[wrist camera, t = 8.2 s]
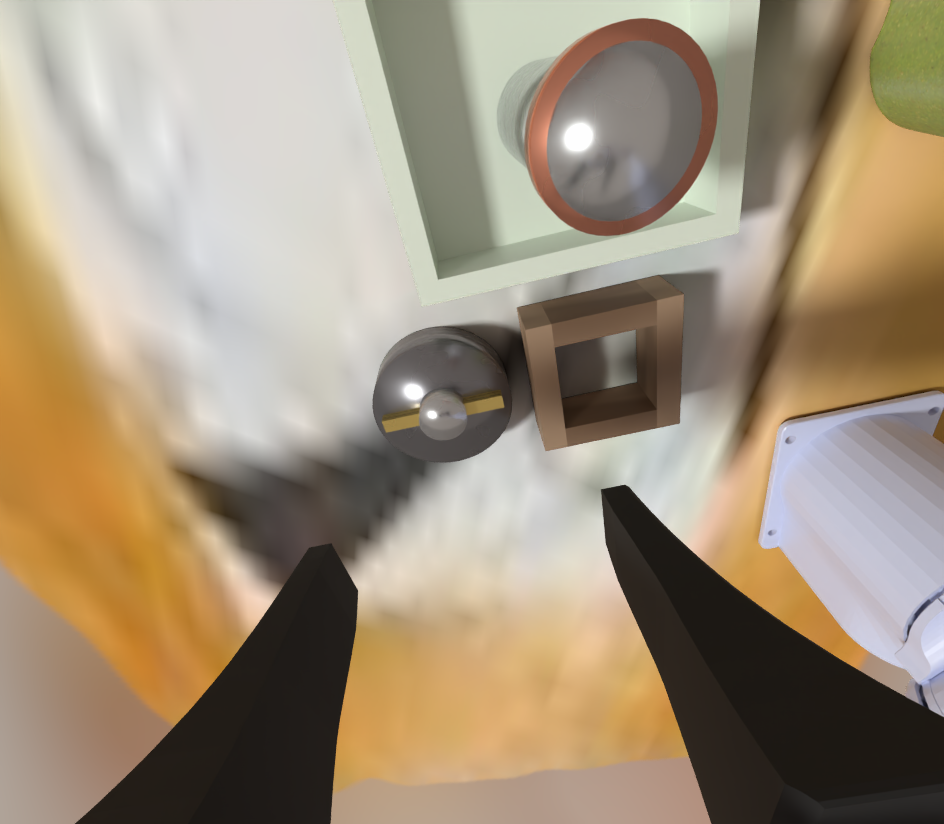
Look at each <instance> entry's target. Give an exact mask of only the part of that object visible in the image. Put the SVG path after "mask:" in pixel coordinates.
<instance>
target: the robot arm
mask: <svg viewBox="0 0 944 824" xmlns="http://www.w3.org/2000/svg"><path fill="white" fill-rule="evenodd" d="M943 409H944V393H942V392H940V391H930V392H925V393H921V394H916V395H911V396H906V397H901V398H896V399H891V400H886V401H881V402H876V403H872V404H867V405H862V406H857V407H852V408H847V409H842V410H837V411H832V412H827V413H823V414H818V415H813V416H808V417H803V418H798V419H793V420H789V421H786V422H784V423H782V424H781V425H780V427H779V429H778V432H777V438H776V444H775V449H774V455H773V461H772V466H771V472H770V478H769V483H768V489H767V495H766V500H765V506H764V512H763V517H762V523H761V529H760V534H759V540H758V542H759V544H760V545H761V547H762V548H765V549H770V548H775V547H780V549H781V550H782V551H783V553H784V554H785V555H786V556H787V558H788V559H789V560H790V562H791V563H792V564H793V565H794V567H795V568H796V569H797V571H798V572H799V573H800V574H801V576H802V577H803V578H804V580H805V581H806V582H807V583H808V585H809V586H810V587H811V589H812V590H813V591H814V593H815V594H816V595H817V596H818V598H819V599H820V600H821V602H822V603H823V604H824V605H825V607H826V608H827V609H828V611H829V612H830V613H831V614H832V616H833V617H834V618H835V620H836V621H837V622H838V623H839V625H840V626H841V627H842V628H843V629H844V631H845V632H846V633H847V634H848V635H849V636H850V637H851V638H852V639H853V640H854V641H856V642H857V643H858V644H859V645H861V646H862V647H863V648H865V649H866V650H868V651H869V652H871V653H872V654H874V655H875V656H877V657H879V658H881V659H883V660H884V661H886V662H888V663H890V664H893V665H895V666H897V667H900V668H903V669H906V670H907V671H908V672H909V674H910V675H911V676H912V677H913V678H912V679H911V680H910V681H909V683H908V684H907V686H906V693H905V694H906V697H905V696H903V695H901V694H900V693H898V692H896V691H894V690H892V689H891V688H889V687H887V686H885V685H883V684H882V683H880V682H878V681H876V680H875V679H873V678H871V677H869V676H868V675H866V674H864V673H863V672H861V671H859V670H858V669H856V668H854V667H852V666H851V665H849V664H847V663H846V662H844V661H842V660H840V659H839V658H837V657H836V656H834V655H833V654H831V653H829V652H828V651H826V650H825V649H823V648H822V647H820V646H818V645H817V644H815V643H814V642H812V641H811V640H809V639H807V638H806V637H804V636H803V635H801V634H800V633H798V632H797V631H795V630H793V629H792V628H790V627H789V626H787V625H786V624H784V623H783V622H781V621H780V620H779V619H777V618H776V617H774V616H773V615H772V614H770V613H769V612H767V611H766V610H764V609H763V608H762V607H760V606H759V605H758V604H756V603H755V602H754V601H752V600H751V599H749V598H748V597H747V596H745V595H744V594H743V593H741V592H740V591H739V590H738V589H736V588H735V587H734V586H732V585H731V584H730V583H729V582H727V581H726V580H725V579H724V578H723V577H721V576H720V575H719V574H718V573H716V572H715V571H714V570H713V569H712V568H711V567H709V566H708V565H707V564H706V563H705V562H703V561H702V560H701V559H700V558H699V557H698V556H697V555H696V554H694V553H693V552H692V551H691V550H690V549H689V548H688V547H687V546H686V545H685V544H684V543H682V542H681V541H680V540H679V539H678V538H677V537H676V536H675V535H674V534H673V533H672V532H671V531H670V530H669V529H668V528H667V527H666V526H665V525H664V524H663V523H662V522H661V521H660V520H659V519H658V518H657V517H656V516H655V515H654V514H653V513H652V512H651V511H650V510H649V509H648V508H647V507H646V506H645V505H644V503H643V502H642V501H641V500H640V499H639V498H638V497H637V496H636V495H635V493H634V492H633V491H632V490H631V489H630V487H628V486H626V485H621V486H616V487H611V488H606V489H601V494H602V506H603V517H604V528H605V539H606V545H607V548H608V551H609V554H610V558H611V561H612V564H613V567H614V570H615V573H616V576H617V579H618V581H619V584H620V586H621V588H622V590H623V593H624V595H625V597H626V599H627V602H628V604H629V606H630V608H631V611H632V613H633V615H634V617H635V619H636V622H637V624H638V626H639V628H640V630H641V633H642V635H643V637H644V639H645V642H646V644H647V646H648V648H649V650H650V653H651V655H652V657H653V659H654V661H655V664H656V666H657V668H658V671H659V673H660V676H661V678H662V681H663V683H664V686H665V689H666V691H667V694H668V697H669V700H670V703H671V706H672V708H673V711H674V714H675V717H676V720H677V723H678V725H679V728H680V731H681V734H682V737H683V740H684V743H685V746H686V749H687V752H688V755H689V758H690V761H691V763H692V766H693V769H694V772H695V775H696V778H697V781H698V784H699V787H700V790H701V793H702V796H703V799H704V802H705V806H706V808H707V812H708V815H709V818H710V821H711V823H712V824H944V444H943V443H942V442H940V441H939V440H937V439H936V438H934V437H933V433H934V431H935V428H936V426H937V423H938V421H939V418H940V416H941V413H942V411H943ZM789 436H790V437H789ZM788 437H789V438H788ZM357 602H358V590H357V588H356V586H355V584H354V583H353V581H352V579H351V577H350V576H349V574H348V572H347V570H346V569H345V567H344V565H343V563H342V562H341V560H340V558H339V556H338V555H337V553H336V551H335V549H334V548H333V546H332V544H326V545H321V546H316V547H311V548H309V549H308V551H307V552H306V553H305V555H304V556H303V558H302V559H301V561H300V562H299V564H298V565H297V567H296V568H295V570H294V571H293V573H292V574H291V576H290V577H289V579H288V580H287V582H286V583H285V585H284V586H283V588H282V589H281V591H280V592H279V594H278V595H277V597H276V598H275V600H274V601H273V603H272V604H271V606H270V607H269V609H268V610H267V612H266V613H265V614H264V616H263V617H262V619H261V620H260V622H259V623H258V625H257V626H256V627H255V629H254V630H253V631H252V633H251V634H250V635H249V637H248V638H247V640H246V641H245V642H244V644H243V645H242V646H241V648H240V649H239V650H238V652H237V653H236V654H235V656H234V657H233V658H232V660H231V661H230V662H229V664H228V665H227V666H226V667H225V669H224V670H223V671H222V673H221V674H220V675H219V676H218V677H217V679H216V680H215V681H214V682H213V684H212V685H211V686H210V687H209V688H208V689H207V691H206V692H205V693H204V694H203V695H202V697H201V698H200V699H199V700H198V701H197V702H196V704H195V705H194V706H193V707H192V708H191V709H190V710H189V711H188V713H187V714H186V715H185V716H184V717H183V718H182V719H181V720H180V721H179V722H178V723H177V724H176V725H175V727H174V728H173V729H172V730H171V731H170V732H169V733H168V734H167V735H166V736H165V737H164V738H163V739H162V741H161V742H160V743H159V744H158V745H157V746H156V747H155V748H154V749H153V750H152V751H151V752H150V753H149V754H148V755H147V756H146V757H145V758H144V759H143V760H142V761H141V762H140V763H139V764H138V765H137V766H136V767H135V768H134V769H133V770H132V771H131V772H130V773H129V774H128V775H127V776H126V777H125V778H124V779H123V780H122V781H121V782H120V783H119V784H118V785H117V786H116V787H115V788H113V789H112V790H111V791H110V792H109V793H108V794H107V795H106V796H105V797H104V798H103V799H102V800H101V801H100V802H99V803H98V804H97V805H95V806H94V807H93V808H92V809H91V810H90V811H89V812H88V813H87V814H86V815H84V816H83V817H82V818H81V819H80V820H79V821H78V822H76V823H75V824H330V822H331V807H332V792H333V779H334V767H335V756H336V745H337V736H338V729H339V722H340V716H341V710H342V705H343V699H344V694H345V688H346V683H347V677H348V672H349V666H350V661H351V655H352V649H353V644H354V638H355V632H356V620H357Z"/></svg>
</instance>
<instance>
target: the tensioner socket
mask: <svg viewBox="0 0 944 824" xmlns="http://www.w3.org/2000/svg"><path fill="white" fill-rule="evenodd" d="M683 309H684V294H683V293H682V292H680V291H679V290H678V289H676V288H675V287H674V286H672V285H671V284H670V283H668V282H667V281H666V280H664V279H663V278H662V277H660V276H659V275H657V276H653V277H649V278H644V279H640V280H635V281H631V282H627V283H622V284H618V285H614V286H609V287H605V288H601V289H596V290H592V291H588V292H583V293H579V294H575V295H570V296H566V297H561V298H557V299H553V300H548V301H544V302H540V303H535V304H531V305H527V306H522V307H518V308H517V312H518V317H519V323H520V329H521V335H522V341H523V346H524V352H525V358H526V364H527V369H528V375H529V381H530V387H531V393H532V398H533V404H534V410H535V416H536V421H537V425H538V428H539V431H540V434H541V438H542V441H543V444H544V447H545V450H546V451H549V450H554V449H558V448H563V447H568V446H573V445H578V444H583V443H587V442H592V441H597V440H602V439H607V438H612V437H616V436H621V435H626V434H631V433H636V432H641V431H645V430H650V429H655V428H660V427H665V426H670V425H674V424H679V423H680V401H681V370H682V340H683ZM631 330H636V351H637V383H633V384H628V385H623V386H619V387H614V388H609V389H605V390H600V391H595V392H591V393H586V394H581V395H577V396H572V397H567V398H563V399H561V393H560V385H559V378H558V370H557V363H556V355H555V347H559V346H564V345H568V344H573V343H577V342H582V341H586V340H591V339H595V338H600V337H604V336H609V335H613V334H618V333H622V332H627V331H631Z"/></svg>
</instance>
